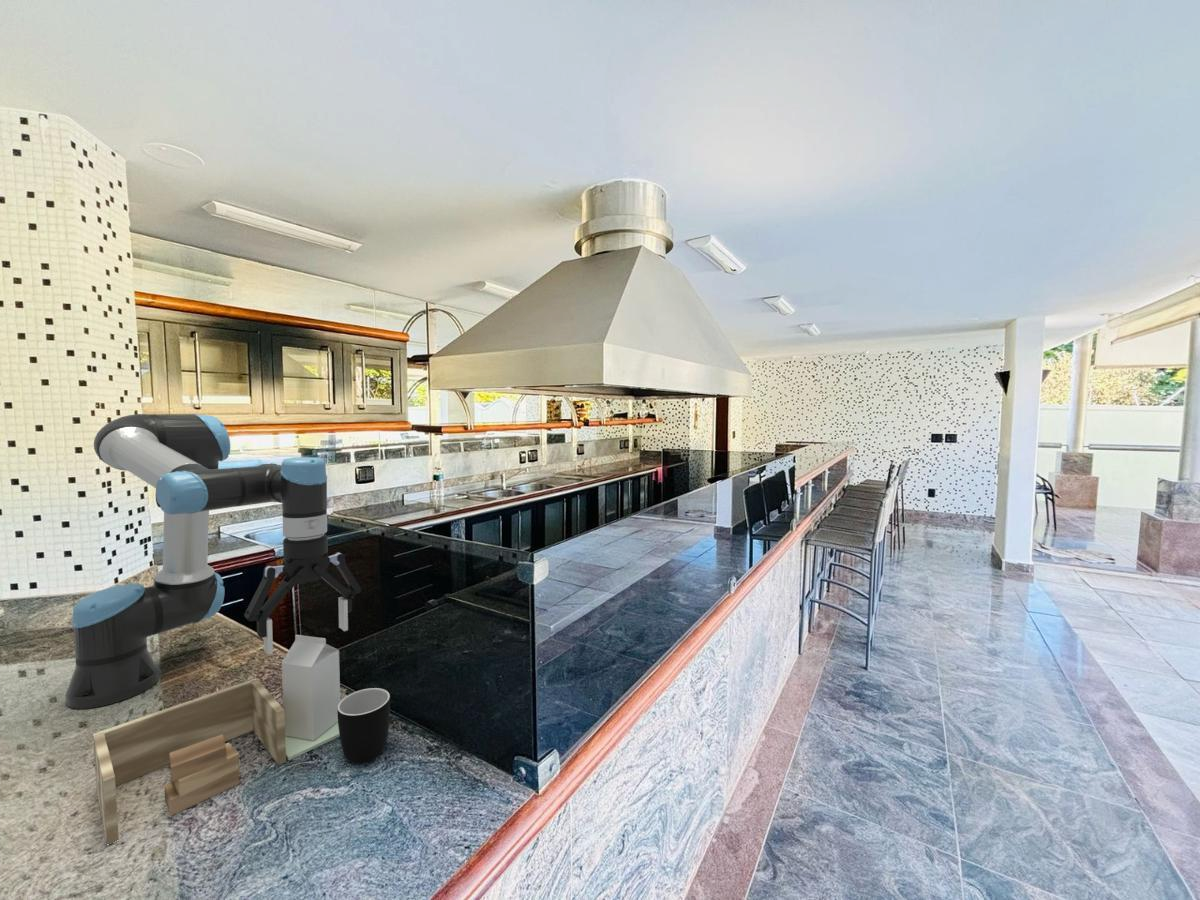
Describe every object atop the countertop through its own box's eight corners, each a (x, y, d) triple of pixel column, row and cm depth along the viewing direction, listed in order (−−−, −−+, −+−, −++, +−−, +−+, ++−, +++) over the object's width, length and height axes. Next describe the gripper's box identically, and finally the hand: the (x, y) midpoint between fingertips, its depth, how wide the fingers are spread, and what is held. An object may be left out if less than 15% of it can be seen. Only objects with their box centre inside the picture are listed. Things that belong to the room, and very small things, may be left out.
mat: (267, 733, 97) (267, 730, 97) (331, 706, 106) (331, 703, 106) (288, 760, 89) (288, 757, 89) (355, 729, 98) (355, 726, 98)
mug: (401, 746, 93) (400, 696, 93) (357, 775, 86) (356, 720, 85) (362, 726, 99) (361, 679, 99) (319, 752, 92) (317, 700, 91)
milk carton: (314, 741, 94) (310, 646, 92) (283, 736, 95) (280, 642, 94) (341, 719, 101) (338, 631, 99) (312, 714, 102) (309, 627, 101)
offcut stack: (164, 799, 80) (162, 755, 80) (232, 769, 87) (230, 728, 87) (171, 817, 76) (168, 771, 76) (241, 783, 84) (239, 741, 83)
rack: (96, 790, 82) (93, 733, 81) (258, 724, 100) (256, 678, 99) (107, 846, 71) (103, 781, 71) (286, 761, 89) (284, 709, 88)
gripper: (233, 552, 83) (237, 670, 85) (377, 528, 102) (378, 625, 104) (222, 544, 88) (226, 656, 90) (361, 522, 107) (362, 615, 109)
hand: (307, 639), depth 97 cm, fingers open, 13 cm apart
